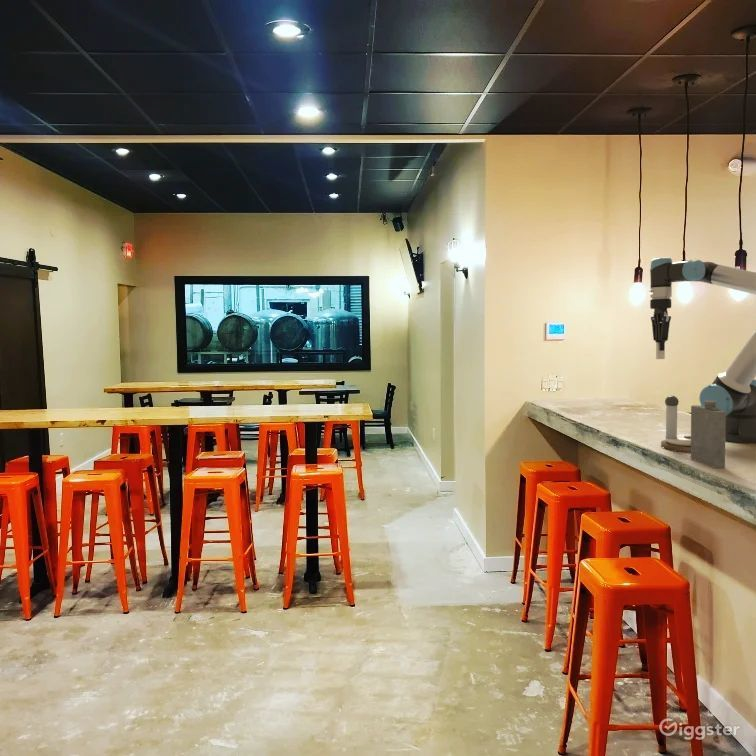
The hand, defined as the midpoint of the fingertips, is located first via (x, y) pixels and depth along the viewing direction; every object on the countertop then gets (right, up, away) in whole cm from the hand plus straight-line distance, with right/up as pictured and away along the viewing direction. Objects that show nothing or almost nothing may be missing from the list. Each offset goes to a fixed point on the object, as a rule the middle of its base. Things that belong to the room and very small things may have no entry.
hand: (660, 358), depth 245 cm
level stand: (+1, -32, -21) cm, 39 cm away
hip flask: (-5, -35, -45) cm, 57 cm away
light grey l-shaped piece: (0, -30, -21) cm, 37 cm away
